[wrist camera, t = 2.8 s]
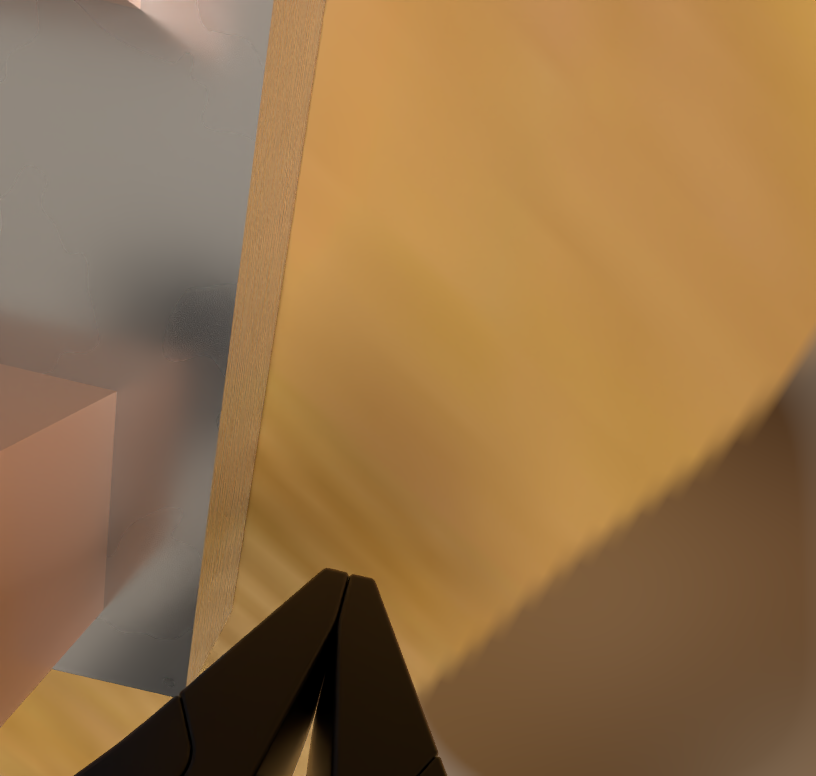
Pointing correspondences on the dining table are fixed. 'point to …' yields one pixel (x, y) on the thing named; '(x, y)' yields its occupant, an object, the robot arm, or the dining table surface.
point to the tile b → (127, 3)
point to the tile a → (50, 521)
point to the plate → (155, 278)
